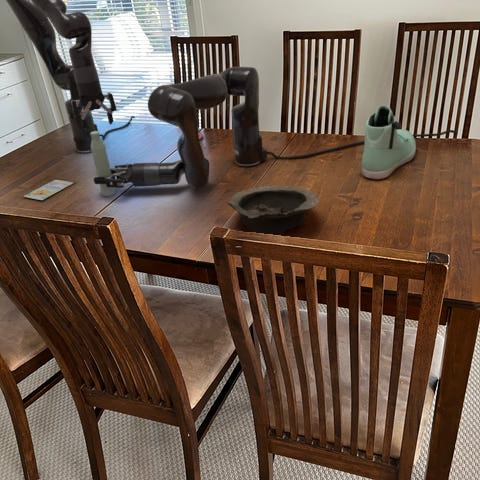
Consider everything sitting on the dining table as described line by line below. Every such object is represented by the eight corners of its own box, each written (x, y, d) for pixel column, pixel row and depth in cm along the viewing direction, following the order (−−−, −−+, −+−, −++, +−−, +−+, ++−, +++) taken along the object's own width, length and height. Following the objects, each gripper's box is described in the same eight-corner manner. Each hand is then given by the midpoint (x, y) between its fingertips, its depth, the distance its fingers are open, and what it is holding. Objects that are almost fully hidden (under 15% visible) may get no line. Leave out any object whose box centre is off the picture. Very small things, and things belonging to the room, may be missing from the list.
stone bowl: (258, 254, 121) (254, 221, 116) (217, 221, 141) (212, 192, 137) (338, 225, 129) (337, 193, 125) (288, 198, 150) (286, 170, 145)
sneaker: (420, 146, 175) (428, 89, 165) (399, 183, 150) (406, 120, 139) (383, 142, 181) (388, 87, 171) (356, 177, 156) (360, 116, 145)
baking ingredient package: (22, 195, 161) (55, 178, 172) (23, 197, 161) (55, 180, 172) (41, 199, 157) (74, 182, 169) (42, 200, 157) (74, 183, 169)
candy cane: (171, 147, 193) (170, 143, 192) (194, 135, 203) (194, 131, 202) (182, 149, 190) (182, 145, 189) (206, 137, 200) (205, 133, 199)
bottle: (107, 189, 162) (93, 129, 151) (118, 191, 161) (104, 130, 150) (99, 195, 159) (84, 134, 148) (110, 196, 157) (96, 135, 146)
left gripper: (67, 85, 153) (80, 134, 162) (110, 77, 158) (121, 124, 167) (63, 81, 159) (76, 128, 168) (105, 73, 164) (116, 119, 173)
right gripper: (150, 155, 160) (101, 157, 161) (141, 172, 147) (87, 175, 149) (154, 176, 163) (106, 178, 165) (145, 194, 151) (93, 196, 152)
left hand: (98, 126), depth 167 cm, fingers open, 8 cm apart
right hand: (97, 176), depth 157 cm, fingers open, 5 cm apart
